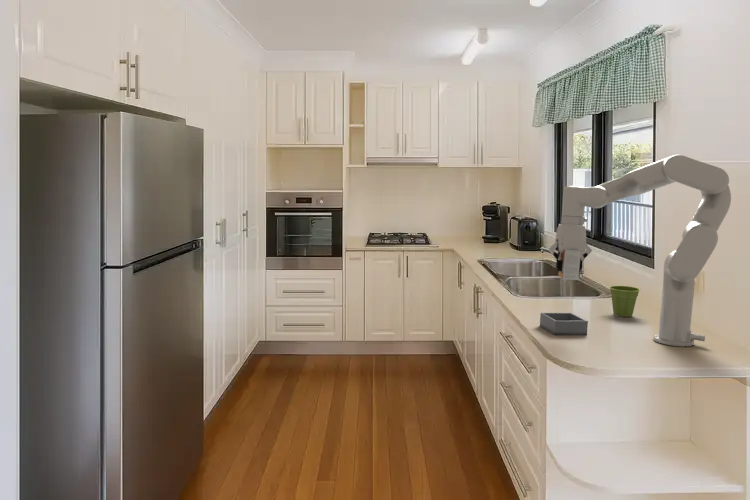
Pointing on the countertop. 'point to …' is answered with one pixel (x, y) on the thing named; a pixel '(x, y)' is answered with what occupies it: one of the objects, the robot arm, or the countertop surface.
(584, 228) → the robot arm
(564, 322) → the crate
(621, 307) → the plant pot
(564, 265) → the small box
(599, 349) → the countertop surface
